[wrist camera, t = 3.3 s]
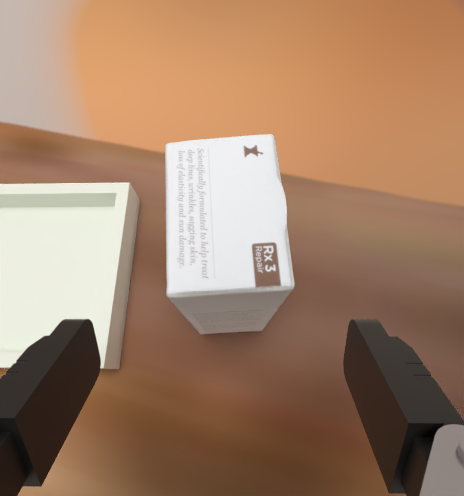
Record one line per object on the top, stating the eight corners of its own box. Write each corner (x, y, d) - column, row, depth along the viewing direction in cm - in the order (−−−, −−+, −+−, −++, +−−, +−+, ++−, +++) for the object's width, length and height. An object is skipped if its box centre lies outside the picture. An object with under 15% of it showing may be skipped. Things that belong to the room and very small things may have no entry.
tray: (140, 200, 25) (129, 182, 23) (119, 369, 21) (103, 368, 18) (-40, 202, 26) (-68, 184, 23) (-97, 367, 21) (-139, 366, 19)
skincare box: (196, 250, 23) (154, 133, 12) (259, 246, 23) (275, 124, 12) (199, 340, 21) (150, 297, 10) (269, 335, 21) (299, 286, 10)
